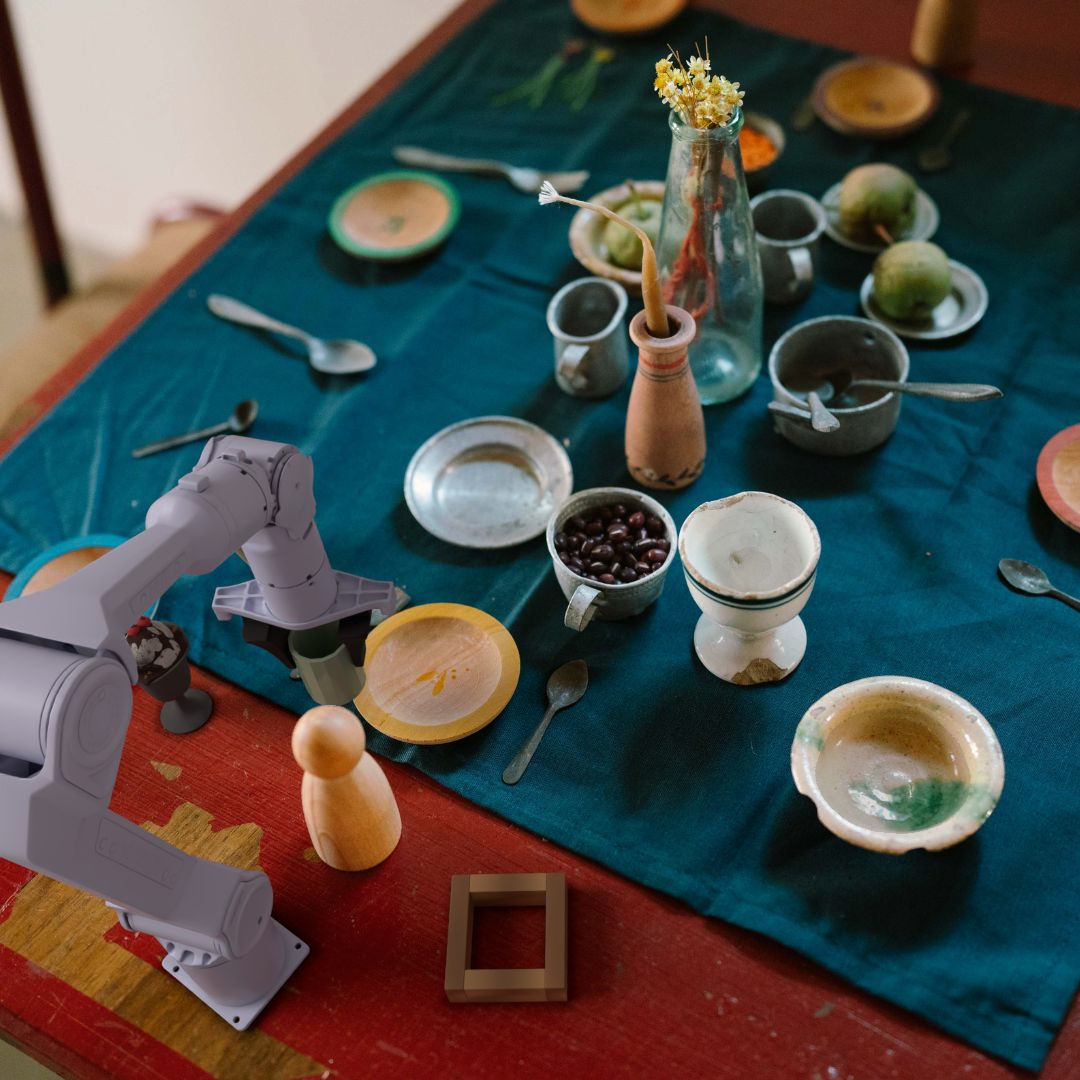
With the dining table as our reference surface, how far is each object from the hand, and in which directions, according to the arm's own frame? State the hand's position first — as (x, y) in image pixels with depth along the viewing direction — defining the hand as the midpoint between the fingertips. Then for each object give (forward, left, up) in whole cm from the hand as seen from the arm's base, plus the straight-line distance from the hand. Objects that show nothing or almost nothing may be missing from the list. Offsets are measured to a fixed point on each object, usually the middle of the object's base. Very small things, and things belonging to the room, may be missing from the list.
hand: (327, 658), depth 100 cm
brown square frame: (+25, -8, -10) cm, 28 cm away
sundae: (-14, -8, -11) cm, 20 cm away
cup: (0, 0, -4) cm, 4 cm away
